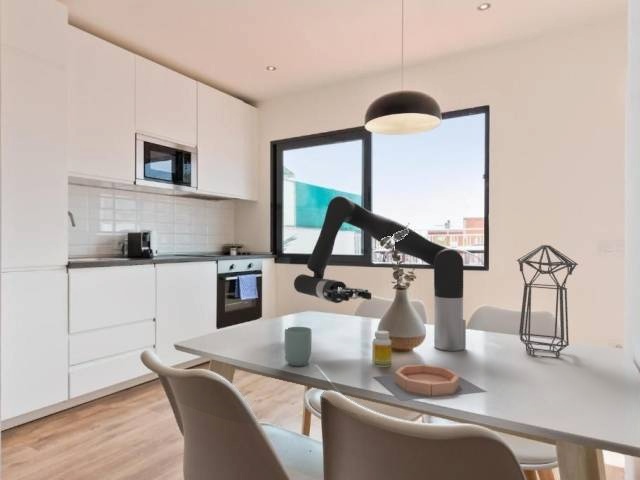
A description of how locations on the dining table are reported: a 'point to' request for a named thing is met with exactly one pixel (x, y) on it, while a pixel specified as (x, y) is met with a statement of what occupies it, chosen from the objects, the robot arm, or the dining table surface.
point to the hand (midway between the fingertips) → (359, 296)
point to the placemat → (403, 394)
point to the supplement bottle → (381, 349)
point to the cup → (298, 345)
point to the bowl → (427, 379)
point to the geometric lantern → (550, 264)
